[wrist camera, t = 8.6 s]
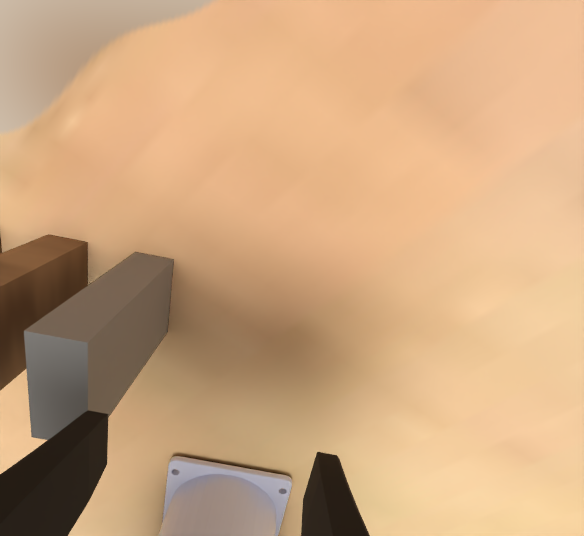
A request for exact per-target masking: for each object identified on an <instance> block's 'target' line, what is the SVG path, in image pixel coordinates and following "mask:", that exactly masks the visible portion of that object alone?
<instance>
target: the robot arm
mask: <svg viewBox="0 0 584 536" xmlns="http://www.w3.org/2000/svg"><path fill="white" fill-rule="evenodd" d="M107 442H108V414H106V413H100V412H95V411H89V410H88V411H86V412H84V413H83V414H82V415H80V416H79V417H78V418H76V419H75V420H74V421H72V422H71V423H70V424H69V425H67V426H66V427H65V428H63V429H62V430H61V431H59V432H58V433H57V434H55V435H54V436H53V437H51V438H50V439H49V440H47V441H46V442H45V443H43V444H42V445H41V446H39V447H38V448H37V449H35V450H34V451H33V452H31V453H30V454H28V455H27V456H26V457H24V458H23V459H21V460H20V461H19V462H17V463H16V464H15V465H13V466H12V467H10V468H9V469H8V470H6V471H5V472H3V473H2V474H0V536H68V534H69V532H70V531H71V529H72V528H73V526H74V524H75V523H76V521H77V520H78V518H79V516H80V515H81V513H82V511H83V510H84V508H85V507H86V505H87V503H88V502H89V500H90V498H91V496H92V494H93V492H94V490H95V488H96V486H97V484H98V482H99V480H100V478H101V475H102V473H103V471H104V469H105V467H106V465H107ZM176 469H177V470H176ZM291 487H292V479H291V478H290V477H289V476H286V475H281V474H276V473H270V472H265V471H259V470H253V469H248V468H242V467H237V466H231V465H225V464H220V463H214V462H209V461H203V460H198V459H192V458H186V457H181V456H174V457H172V458H171V460H170V462H169V465H168V475H167V484H166V493H165V503H164V512H163V521H162V526H161V529H160V532H159V534H158V536H278V534H279V531H280V527H281V523H282V520H283V516H284V513H285V509H286V505H287V502H288V498H289V495H290V491H291ZM282 488H284V489H282ZM301 536H370V535H369V533H368V531H367V529H366V526H365V524H364V522H363V519H362V517H361V515H360V513H359V510H358V508H357V505H356V503H355V501H354V498H353V495H352V493H351V490H350V488H349V485H348V482H347V480H346V477H345V474H344V471H343V469H342V466H341V463H340V460H339V458H338V456H337V455H332V454H326V453H321V452H317V455H316V458H315V461H314V465H313V468H312V471H311V475H310V478H309V481H308V485H307V488H306V492H305V495H304V498H303V513H302V532H301Z"/></svg>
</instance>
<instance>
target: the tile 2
mask: <svg viewBox="0 0 584 536" xmlns="http://www.w3.org/2000/svg"><path fill="white" fill-rule="evenodd" d="M85 287H87V242H84V241H79V240H73V239H68V238H63V237H58V236H53V235H46V236H44V237H41V238H39V239H36V240H34V241H31V242H29V243H26V244H24V245H21V246H19V247H16V248H14V249H11V250H9V251H6V252H4V253H1V254H0V390H1V389H3V388H4V387H5V386H6V385H7V384H8V383H10V382H11V381H12V380H13V379H14V378H16V377H17V376H18V375H19V374H20V373H21V372H23V371H24V370H25V369H26V368H27V367H26V353H25V340H24V330H26V329H27V328H29V327H30V326H31V325H33V324H34V323H36V322H37V321H38V320H40V319H41V318H43V317H44V316H46V315H47V314H48V313H50V312H51V311H53V310H54V309H55V308H57V307H58V306H60V305H61V304H63V303H64V302H65V301H67V300H68V299H70V298H71V297H72V296H74V295H75V294H77V293H78V292H80V291H81V290H82V289H84V288H85Z"/></svg>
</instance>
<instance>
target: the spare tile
mask: <svg viewBox="0 0 584 536" xmlns="http://www.w3.org/2000/svg"><path fill="white" fill-rule="evenodd" d="M173 263H174V259H169V258H164V257H159V256H153V255H148V254H143V253H138V252H135V253H133V254H132V255H131V256H129V257H128V258H126V259H125V260H123V261H122V262H121V263H119V264H118V265H116V266H115V267H114V268H112V269H111V270H109V271H108V272H106V273H105V274H104V275H102V276H101V277H99V278H98V279H97V280H95V281H94V282H92V283H91V284H89V285H88V286H87V287H85V288H84V289H82V290H81V291H80V292H78V293H77V294H75V295H74V296H72V297H71V298H70V299H68V300H67V301H65V302H64V303H63V304H61V305H60V306H58V307H57V308H55V309H54V310H53V311H51V312H50V313H48V314H47V315H46V316H44V317H43V318H41V319H40V320H38V321H37V322H36V323H34V324H33V325H31V326H30V327H29V328H27V329H26V330H24V340H25V353H26V367H27V380H28V394H29V407H30V421H31V434H32V437H34V438H40V439H45V440H49V439H50V438H51V437H53V436H54V435H55V434H57V433H58V432H59V431H61V430H62V429H63V428H65V427H66V426H67V425H69V424H70V423H71V422H72V421H74V420H75V419H76V418H78V417H79V416H80V415H82V414H83V413H84V412H86V411H88V410H89V411H95V412H100V413H106V414H108V417H109V416H110V415H111V413H112V412H113V410H114V409H115V407H116V406H117V404H118V403H119V401H120V400H121V399H122V397H123V396H124V394H125V393H126V391H127V390H128V388H129V387H130V386H131V384H132V383H133V381H134V380H135V378H136V377H137V375H138V374H139V373H140V371H141V370H142V368H143V367H144V365H145V364H146V362H147V361H148V360H149V358H150V357H151V355H152V354H153V352H154V351H155V349H156V348H157V346H158V345H159V344H160V342H161V341H162V339H163V338H164V336H165V335H166V333H167V332H168V321H169V309H170V298H171V286H172V275H173Z"/></svg>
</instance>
